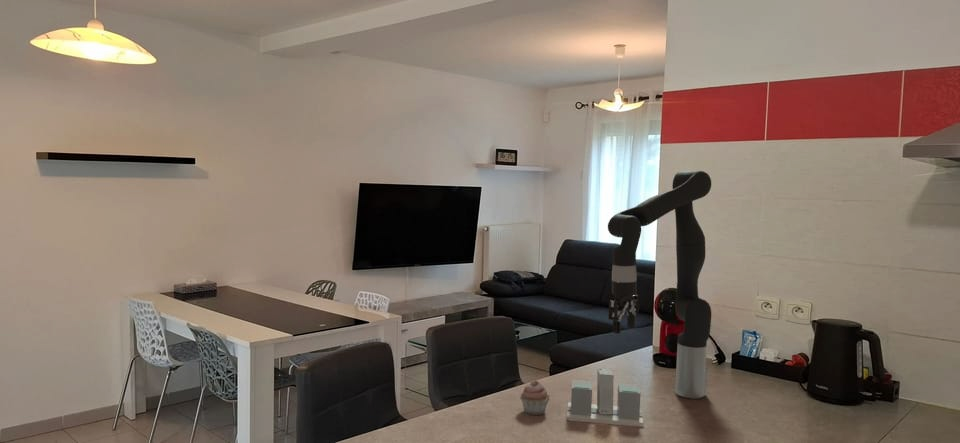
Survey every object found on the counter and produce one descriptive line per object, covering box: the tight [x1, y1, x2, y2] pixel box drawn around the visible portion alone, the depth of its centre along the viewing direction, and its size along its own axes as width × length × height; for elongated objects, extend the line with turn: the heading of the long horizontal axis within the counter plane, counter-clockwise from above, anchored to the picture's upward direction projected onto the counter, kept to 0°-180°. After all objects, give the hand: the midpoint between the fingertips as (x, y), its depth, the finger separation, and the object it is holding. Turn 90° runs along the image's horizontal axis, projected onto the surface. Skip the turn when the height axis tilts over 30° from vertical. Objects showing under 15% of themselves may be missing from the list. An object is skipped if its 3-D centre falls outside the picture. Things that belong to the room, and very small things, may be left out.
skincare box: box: [596, 368, 614, 415], centre depth 189 cm, size 6×4×12 cm
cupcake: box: [519, 379, 551, 416], centre depth 191 cm, size 9×9×10 cm
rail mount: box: [566, 379, 644, 428], centre depth 189 cm, size 22×12×9 cm, turn 81°
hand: (624, 330), depth 195 cm, fingers open, 8 cm apart
